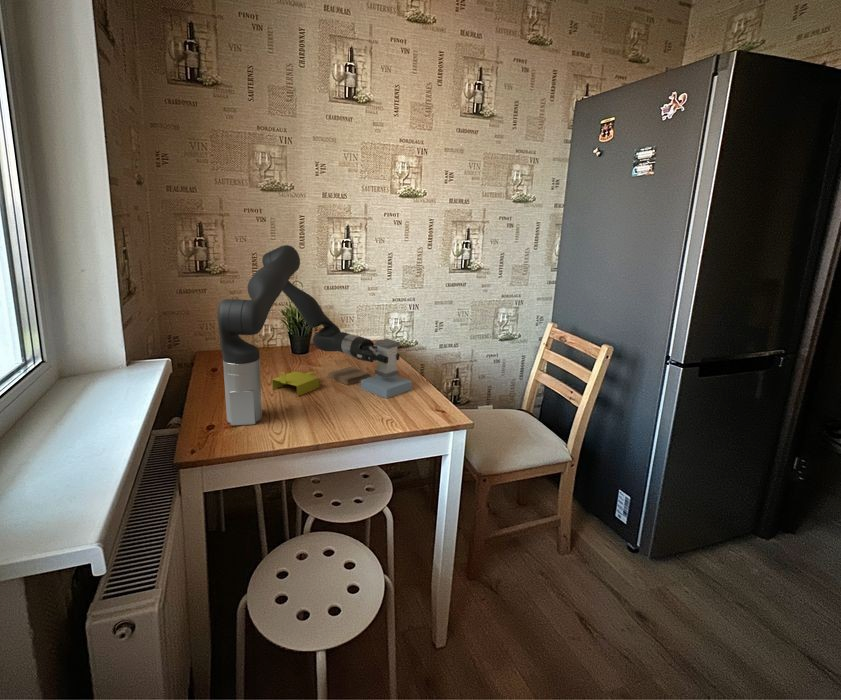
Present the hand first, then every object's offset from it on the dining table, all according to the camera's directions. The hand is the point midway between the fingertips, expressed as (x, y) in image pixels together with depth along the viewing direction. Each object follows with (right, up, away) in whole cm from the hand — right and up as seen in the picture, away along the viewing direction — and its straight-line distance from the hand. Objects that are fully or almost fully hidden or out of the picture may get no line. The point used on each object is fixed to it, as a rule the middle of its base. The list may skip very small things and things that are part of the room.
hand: (393, 358), depth 158 cm
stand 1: (-16, -7, +13) cm, 22 cm away
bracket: (-31, -10, +3) cm, 32 cm away
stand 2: (-3, -10, +5) cm, 11 cm away
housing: (-2, -5, +3) cm, 7 cm away
